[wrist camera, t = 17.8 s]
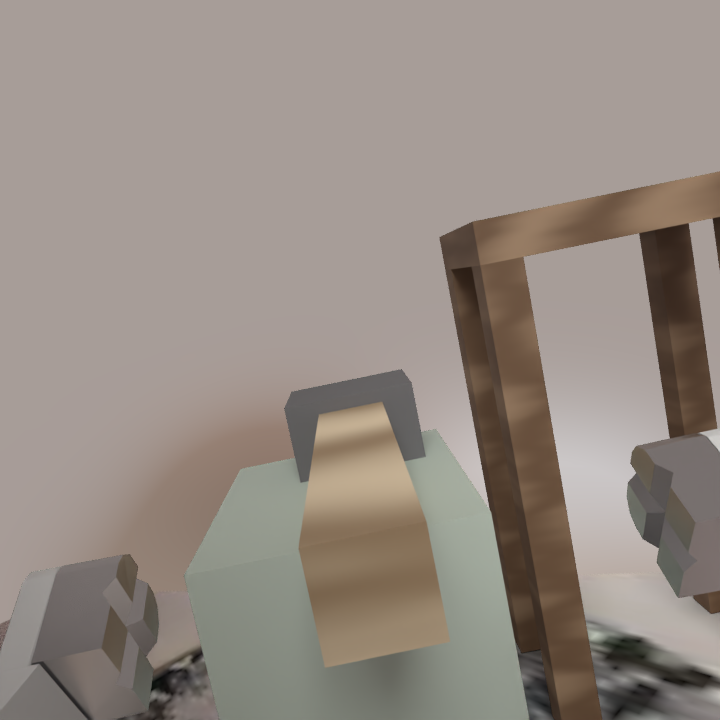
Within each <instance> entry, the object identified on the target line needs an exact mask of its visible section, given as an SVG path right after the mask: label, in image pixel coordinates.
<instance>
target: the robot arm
mask: <svg viewBox="0 0 720 720" xmlns="http://www.w3.org/2000/svg"><path fill="white" fill-rule="evenodd" d="M631 465H632V467H633V468H634V470H635V471H636V474H635V475H634V477H633V478H632V479H631V480H630V481H629V482H628V489H627V500H628V505H629V510H630V514H631V517H632V519H633V521H634V524H635V526H636V528H637V530H638V531H639V533H640V535H641V537H642V538H643V539H644V540H646V541H647V542H649V543H651V544H652V545H654V546H656V547H658V548H659V551H658V557H657V564H658V565H659V567H660V569H661V570H662V572H663V574H664V575H665V577H666V579H667V580H668V582H669V584H670V585H671V587H672V589H673V590H674V592H675V594H676V595H677V597H678V598H682V597H688V596H693V595H698V594H704V593H709V592H715V591H720V428H719V429H714V430H709V431H704V432H700V433H697V434H695V433H693V434H688V435H684V436H679V437H675V438H670V439H666V440H661V441H657V442H653V443H648V444H643V445H639V446H636V447H635V449H634V450H633V452H632V456H631ZM137 571H138V566H137V564H136V563H135V561H134V560H133V558H132V557H131V555H130V554H128V555H120V556H114V557H109V558H103V559H98V560H92V561H87V562H81V563H76V564H71V565H65V566H61V567H56V568H51V569H46V570H40V571H35V572H31V573H30V574H29V575H28V576H27V578H26V579H25V580H24V582H23V583H22V586H21V589H20V592H19V596H18V598H17V601H16V605H15V608H14V610H13V614H12V617H11V620H10V623H9V626H8V629H7V632H6V635H5V638H4V641H3V644H2V647H1V650H0V720H113V719H118V718H122V717H126V716H130V715H134V714H138V713H142V712H147V711H148V708H149V700H150V692H151V685H152V677H153V667H152V666H151V664H150V663H149V661H148V660H147V658H146V656H147V655H148V653H149V652H150V651H151V649H152V648H153V646H154V645H155V644H156V642H157V636H158V627H159V621H158V609H157V603H156V600H155V597H154V594H153V591H152V590H151V588H150V587H149V585H148V583H145V582H143V581H141V580H139V579H137V578H136V576H137Z"/></svg>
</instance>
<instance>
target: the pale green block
mask: <svg viewBox="0 0 720 720" xmlns="http://www.w3.org/2000/svg"><path fill="white" fill-rule="evenodd" d="M421 434H422V439H423V444H424V450H425V455H426V457H423V458H418V459H413V460H408V461H404V462H405V465H406V467H407V470H408V473H409V475H410V478H411V481H412V484H413V486H414V489H415V492H416V494H417V497H418V500H419V502H420V505H421V508H422V511H423V513H424V516H425V519H426V522H427V527H428V532H429V537H430V542H431V547H432V552H433V557H434V562H435V567H436V572H437V577H438V582H439V587H440V592H441V598H442V603H443V608H444V613H445V618H446V623H447V628H448V633H449V638H450V642H447V643H442V644H437V645H433V646H428V647H423V648H418V649H413V650H409V651H404V652H399V653H394V654H389V655H385V656H380V657H375V658H370V659H365V660H361V661H356V662H351V663H346V664H342V665H337V666H332V667H327V668H325V665H324V661H323V656H322V652H321V647H320V643H319V638H318V634H317V629H316V625H315V620H314V616H313V611H312V607H311V602H310V598H309V593H308V589H307V584H306V580H305V575H304V571H303V566H302V562H301V557H300V553H299V548H298V547H299V540H300V534H301V527H302V521H303V514H304V508H305V501H306V495H307V488H308V482H309V481H307V482H302V483H301V482H300V478H299V473H298V469H297V464H296V460H295V458H293V459H287V460H283V461H278V462H273V463H268V464H263V465H258V466H254V467H248V468H244V469H241V470H240V472H239V474H238V476H237V477H236V479H235V481H234V483H233V485H232V487H231V488H230V491H229V492H228V494H227V496H226V498H225V500H224V502H223V503H222V505H221V507H220V509H219V511H218V513H217V515H216V517H215V519H214V520H213V522H212V524H211V526H210V528H209V530H208V532H207V533H206V535H205V537H204V539H203V541H202V543H201V545H200V547H199V548H198V550H197V552H196V554H195V556H194V558H193V560H192V562H191V563H190V565H189V567H188V569H187V571H186V573H185V574H184V578H185V582H186V586H187V590H188V594H189V598H190V602H191V606H192V611H193V615H194V619H195V623H196V627H197V631H198V635H199V639H200V643H201V647H202V651H203V655H204V659H205V663H206V668H207V672H208V676H209V680H210V684H211V688H212V692H213V696H214V700H215V704H216V708H217V712H218V716H219V720H529V715H528V709H527V704H526V698H525V693H524V688H523V682H522V677H521V671H520V666H519V661H518V655H517V650H516V644H515V639H514V633H513V628H512V623H511V617H510V612H509V606H508V601H507V596H506V590H505V585H504V579H503V574H502V569H501V563H500V558H499V552H498V547H497V541H496V536H495V531H494V525H493V520H492V514H491V511H490V510H489V508H488V507H487V505H486V504H485V502H484V501H483V499H482V498H481V496H480V495H479V493H478V492H477V490H476V489H475V487H474V486H473V484H472V483H471V481H470V480H469V478H468V477H467V475H466V474H465V472H464V471H463V469H462V468H461V466H460V465H459V463H458V462H457V460H456V459H455V457H454V456H453V454H452V453H451V451H450V449H449V448H448V446H447V445H446V443H445V442H444V441H443V439H442V437H441V436H440V434H439V433H438V431H437V430H436V429H433V430H428V431H424V432H421Z"/></svg>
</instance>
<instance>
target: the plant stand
mask: <svg viewBox="0 0 720 720" xmlns="http://www.w3.org/2000/svg"><path fill="white" fill-rule="evenodd" d="M711 218H713V224H714V231H715V238H716V246H717V253H718V261H719V268H720V172H715V173H710V174H705V175H700V176H695V177H690V178H685V179H680V180H675V181H670V182H666V183H661V184H656V185H651V186H646V187H641V188H637V189H631V190H626V191H622V192H616V193H612V194H607V195H602V196H597V197H592V198H587V199H582V200H577V201H573V202H567V203H562V204H557V205H553V206H548V207H543V208H538V209H533V210H528V211H523V212H518V213H514V214H508V215H503V216H498V217H494V218H488V219H484V220H479V221H474V222H471V223H469V224H467V225H465V226H463V227H461V228H458V229H456V230H454V231H452V232H450V233H447V234H445V235H443V236H441V237H440V242H441V248H442V254H443V259H444V264H445V269H446V275H447V281H448V286H449V291H450V297H451V302H452V307H453V313H454V318H455V324H456V329H457V335H458V340H459V345H460V351H461V356H462V362H463V367H464V373H465V378H466V383H467V388H468V394H469V400H470V405H471V410H472V416H473V421H474V427H475V432H476V437H477V443H478V448H479V454H480V459H481V465H482V470H483V475H484V480H485V486H486V492H487V497H488V502H489V508H490V511H491V514H492V520H493V525H494V531H495V536H496V541H497V547H498V552H499V558H500V563H501V569H502V574H503V579H504V585H505V590H506V596H507V601H508V606H509V612H510V617H511V623H512V628H513V633H514V639H515V641H516V643H517V645H518V647H519V649H520V651H521V653H524V652H529V651H534V650H539V649H541V654H542V660H543V665H544V671H545V676H546V682H547V688H548V693H549V699H550V704H551V710H552V715H553V718H554V720H602V716H601V710H600V704H599V698H598V692H597V686H596V680H595V675H594V669H593V663H592V657H591V651H590V645H589V639H588V633H587V628H586V622H585V616H584V610H583V604H582V598H581V592H580V587H579V581H578V575H577V570H576V563H575V557H574V552H573V546H572V540H571V534H570V528H569V522H568V516H567V510H566V505H565V499H564V493H563V487H562V481H561V475H560V469H559V463H558V458H557V452H556V446H555V440H554V435H553V428H552V423H551V417H550V411H549V405H548V399H547V393H546V388H545V381H544V376H543V370H542V364H541V358H540V352H539V346H538V340H537V334H536V329H535V323H534V317H533V311H532V306H531V299H530V293H529V288H528V282H527V276H526V270H525V264H524V258H523V257H524V256H529V255H534V254H539V253H544V252H549V251H554V250H559V249H564V248H568V247H574V246H578V245H583V244H588V243H593V242H598V241H603V240H607V239H613V238H618V237H623V236H628V235H632V234H637V233H639V234H640V241H641V248H642V255H643V261H644V268H645V274H646V281H647V288H648V295H649V302H650V308H651V314H652V322H653V328H654V335H655V341H656V348H657V355H658V362H659V369H660V375H661V382H662V389H663V395H664V402H665V409H666V415H667V422H668V429H669V436H670V438H675V437H679V436H684V435H688V434H693V433H695V434H697V433H700V432H704V431H709V430H714V429H717V422H716V415H715V409H714V401H713V394H712V387H711V380H710V373H709V365H708V358H707V351H706V344H705V337H704V330H703V323H702V315H701V308H700V301H699V294H698V287H697V280H696V273H695V265H694V258H693V252H692V245H691V237H690V230H689V223H691V222H696V221H701V220H706V219H711ZM693 597H694V599H695V600H696V601H697V602H698V603H699V604H701V605H702V606H703V607H704V608H705V609H706V610H707V611H708V612H710V613H711V614H712V613H717V612H720V591H715V592H709V593H704V594H698V595H693Z"/></svg>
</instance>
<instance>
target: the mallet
mask: <svg viewBox="0 0 720 720" xmlns="http://www.w3.org/2000/svg"><path fill="white" fill-rule="evenodd" d="M284 409H285V413H286V419H287V423H288V428H289V432H290V437H291V441H292V445H293V450H294V455H295V460H296V464H297V469H298V473H299V478H300V482H301V483H302V482H307V481H309V482H308V488H307V495H306V501H305V508H304V514H303V521H302V527H301V534H300V540H299V547H298V548H299V553H300V557H301V562H302V566H303V571H304V575H305V580H306V584H307V589H308V593H309V598H310V602H311V607H312V611H313V616H314V620H315V625H316V629H317V634H318V638H319V643H320V647H321V652H322V656H323V661H324V665H325V668H327V667H332V666H337V665H342V664H346V663H351V662H356V661H361V660H365V659H370V658H375V657H380V656H385V655H389V654H394V653H399V652H404V651H409V650H413V649H418V648H423V647H428V646H433V645H437V644H442V643H447V642H450V638H449V633H448V628H447V623H446V618H445V613H444V608H443V603H442V598H441V592H440V587H439V582H438V577H437V572H436V567H435V562H434V557H433V552H432V547H431V542H430V537H429V532H428V527H427V522H426V519H425V516H424V513H423V511H422V508H421V505H420V502H419V500H418V497H417V494H416V492H415V489H414V486H413V484H412V481H411V478H410V475H409V473H408V470H407V467H406V465H405V462H404V461H408V460H413V459H418V458H423V457H426V455H425V450H424V444H423V439H422V434H421V430H420V424H419V419H418V414H417V409H416V404H415V398H414V393H413V388H412V384H411V381H410V380H409V379H408V377H407V376H406V375H405V373H404V372H403V371H402V369H401V370H396V371H391V372H387V373H382V374H377V375H372V376H367V377H362V378H357V379H352V380H348V381H342V382H338V383H333V384H328V385H323V386H318V387H313V388H308V389H303V390H299V391H294V392H291V395H290V397H289V399H288V401H287V404H286V406H285V408H284Z"/></svg>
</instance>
